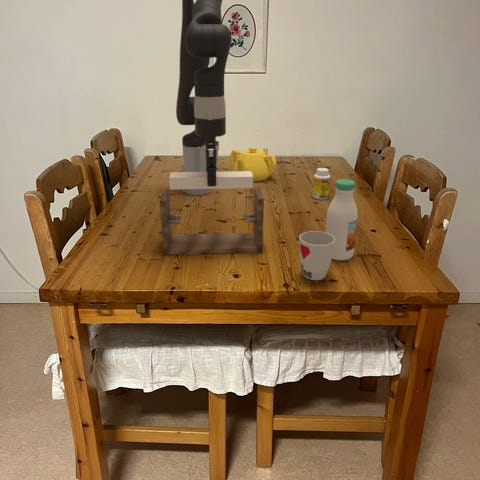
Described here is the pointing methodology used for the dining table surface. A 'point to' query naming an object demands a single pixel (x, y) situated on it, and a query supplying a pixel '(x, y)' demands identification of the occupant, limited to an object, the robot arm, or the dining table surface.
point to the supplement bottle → (321, 184)
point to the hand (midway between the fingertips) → (211, 182)
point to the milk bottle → (342, 220)
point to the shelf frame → (214, 240)
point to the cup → (315, 253)
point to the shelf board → (200, 180)
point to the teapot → (254, 163)
